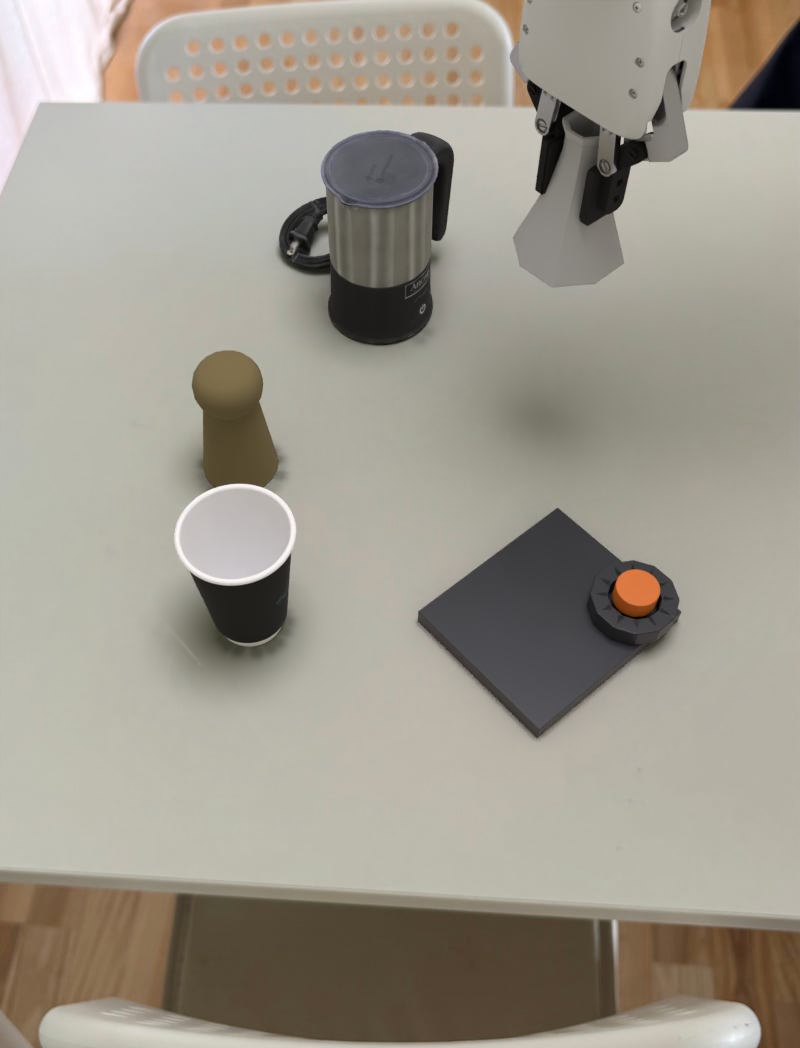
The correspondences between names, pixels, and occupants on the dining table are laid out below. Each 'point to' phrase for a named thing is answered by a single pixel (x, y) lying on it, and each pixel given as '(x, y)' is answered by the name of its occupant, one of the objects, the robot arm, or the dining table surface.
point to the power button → (636, 593)
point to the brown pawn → (233, 420)
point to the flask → (569, 219)
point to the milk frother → (377, 230)
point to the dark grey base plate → (546, 620)
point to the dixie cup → (239, 558)
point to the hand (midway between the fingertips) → (577, 197)
